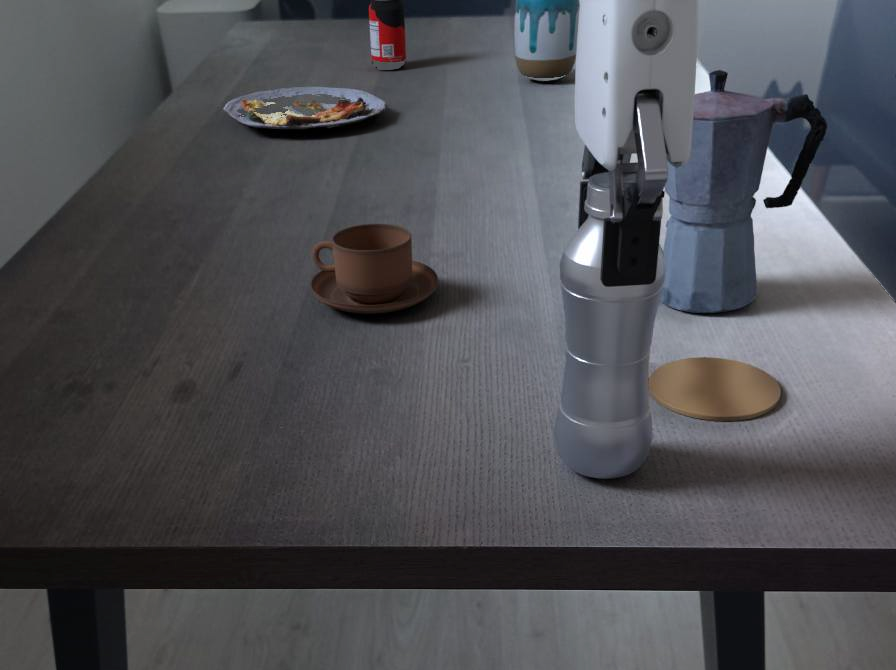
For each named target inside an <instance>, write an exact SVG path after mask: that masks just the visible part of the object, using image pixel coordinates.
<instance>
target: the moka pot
mask: <svg viewBox="0 0 896 670" xmlns="http://www.w3.org/2000/svg"><path fill="white" fill-rule="evenodd" d="M728 73H729V72H727V71H725V70H721V69H717V70H714V71H711V72H709V73H708V79H709V86H710V90H707V91H703V92H699V93H695V97H694V113H693V129H692V143H691V154H690V158H689V160H688V161H687V163H686V164H685V165H684V166H682V167H677V168H676V167H674V166H672V165H671V164H670V163H669V162H668V161H667V163H668V180H667V182H666V184H665V186H664V191H665V194H667V196H668V197H669V200H668V213H669V215H670V217H669V218H668V220H667V221H666V222H665V223H666V224H665V227H666V232H665V238H664V244H663V248H662V250H663V253H664V258H665V262H666V267H667V268H666V274H665V281H664V284H663V289H662V293H661V297H660V301H659V302H661V303H662V304H664V305H666V306H667V307H669V308H671V309H674V310H678V311H682V312H687V313H694V314H701V313H705V314H706V313H709V314H710V313H712V314H713V313H716V314H717V313H725V312H726V313H727V312H730V311H734V310H739V309H741V308H744V307H745V306H747V305H749V304H751V303H752V302H753V301H754V300H755V298H756V297H757V296H758V294H757V292H758V284H757V271H756V255H755V233H754V224H753V223H754V219H753V217H752V214H753V210H754V208H755V207H756V203H757V199H756V198H755V194H756V193H757V192H758V191H759V190H760V187H761V185H760V184H761V181H762V175H763V171H764V165H765V161H766V156H767V151H768V147H769V143H770V138H771V133H772V131H773V125H774V124H775V123H789V122H792V121H794V120H796V119H804V120H806V121H807V122H808V123H809V126H810V130H809V131H808V132H807V134H806V136H805V140H804V143H803V145H802V148H801V150H800V152H799V154H798V158H797V159H796V161H795V163H794V167H793V170H792V173H791V175H790V179H789V180H788V183H787V185H786V186H785V189H784V190H783V192H782V194H780V195H779V196H776V197H773V196H766V197H765V198H763V199H762V201H763V204H764V207H765V208H766V209H775V208H777V209H778V208H784V207H785V208H786V207H790V206H793V202H794V201H795V200H796V199H795V198H796V196H797V195H798V193H799V191H800V189H801V187H802V184H803V180H804V179H805V178H806V175H807V173H808V171H809V169H810V165H811V164H812V162H813V160H814V159H815V157H816V153H817V151H818V150H819V147H820V145H821V144H822V142H823V141H824V139H825V136H826V134H827V129H828V123H827V120H826V119H825V118H824V117H823V116H822V113H821V111H820V109H819V108H817V107H816V106H815V105H814V101H813V100H811V99H810V97H809V95H808V94H807V93H805V94H801V95H796V96H792V97H789V98H787V97H770V98H763V97H761V96H759V95H754V94H750V93H742V92H735V91H730V90H725V88H726V83H727V79H728V75H729V74H728Z"/></svg>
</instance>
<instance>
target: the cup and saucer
mask: <svg viewBox="0 0 896 670" xmlns="http://www.w3.org/2000/svg"><path fill="white" fill-rule="evenodd" d="M323 249H327V250H331V251H332V253H333V261H334V263H333V264H332V265H330V264H329V265H327V264H325V263H323V262H322V261H321V260H322V259H321V258H320V252H321V251H322V250H323ZM311 253H312V254H311V257H312V260H313V263H314V265H315V266H316V267H317V268H318V269H319V270H320V271H319V272H317V273H316V274H315V275H314V277H313V278H312V279H311V282H310V288H311V291H312V293H313V296H315V298H316V299H318V300H319V301H320V302H322V303H323V304H325V305H326V306H328V307H330V308H332V309H336V310H338V311H342V312H347V313H351V314H353V313H354V314H366V315H367V314H368V315H369V314H374V315H375V314H385V313H391V312H397V311H402V310H405V309H408V308H410V307H413V306H415V305H417V304H419V303H421V302H424V301H425V300H426V299H427V298H428V297H429V296H431V294H433V292H434V291H435V290H436V288H437V287H438V281H439V277H438V274H437V272H436V271H435V269H433V268H432V267H430V266H429V265H427V264H424V263H422V262H419V261H416V260H413V243H412V233H411V232H410V231H409V229H407V228H406V227H403V226H400V225H396V224H390V223H365V224H364V223H363V224H357V225H353V226H349V227H346V228H343V229H341V230H339V231H337V232H335V233H334V235H333V236H332V238H331V241H330V240H329V241H328V240H327V241H325V240H324V241H323V240H322V241H319V242H318V243H316V244H315V245H314V247H313V248H312V252H311Z"/></svg>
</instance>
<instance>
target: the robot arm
mask: <svg viewBox="0 0 896 670" xmlns="http://www.w3.org/2000/svg"><path fill="white" fill-rule="evenodd" d="M698 22H699V1H698V0H579V23H578V37H577V53H576V59H575V78H574V123H575V128H576V132H577V135H578V136H579V138H580V139H581V141H582V142H583V144H584V147H583V155H582V162H581V178H582V180H583V181H582V180H581V181H579V199H578V200H579V201H578V220H577V221H578V222H577V230H578V229H579V228H580V227H581V226H582V225H583V223H584V222H585V221H586V220H587V219H588V216H589V214H588V213H586V212H585V210H584V206H585V200H586V199H587V188H588V182H589V178H590V177H591V176H593V175H596V174H599V173H605V172H609V196H610V218H604V226H603V242H602V258H601V274H600V280H601V282H602V284H603V285H604V286H606V287H616V286H633V285H649V284H652V283H653V282H654V281H655V280H656V272H657V261H658V250H659V244H660V239H661V228H662V219H663V214H664V213H663V212H664V207H663V206H664V203H663V201H664V200H663V199H664V198H665V194H666V192H665V184H666V182H667V180H668V163H667V161H668V162H669V163H670V164H671V165H672V166H674V167H676V168H677V167H682V166H684V165H685V164H686V163H687V161H688V160H689V158H690V154H691V143H692V129H693V113H694V97H695V94H696V79H697V77H696V76H697V60H698V35H699V34H698V33H699V32H698V31H699V30H698V29H699V28H698V27H699V23H698ZM632 154H634V155H636V158H637V162H635V161H634V162H631V159H632ZM625 176H636V182H631V183H629V185H628V187H627V188H626V192H625V194H624V196H623V177H625Z"/></svg>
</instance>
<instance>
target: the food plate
mask: <svg viewBox="0 0 896 670" xmlns="http://www.w3.org/2000/svg"><path fill="white" fill-rule="evenodd" d="M303 94H312V95H317V94H327V95H332V97H340V98H342V97H345V98H346V99H350V100H351V102H356V103H354V104H351V102H349V101H348V100H344V99H340V100H339V101H338V102H337V104H325V103H316V101H315V100H314V101H313V100H312V101H310V102H309V103H308V106H305V105H304V104H303V103H300V102H298V101H294V102H293V104H294V105H296V106H300V107H305V108H304V109H306V108H311V109H312V110H320V111H321V110H324V112H318V113H316V112H315V111H314V112H313V113H315V115H307V114H304V113H301V112H299V111H297V110H295V109H293V108H292V106H290V107H288V106H286V107H283V108H285V109H288V111H286V112H285V113H282V112H276V113H271V114H260V113H257V112H254V111H256V110H255V109H253V108H262V107H263V106H267V105H270V104H276V103H275V102H266V103H264V102H263V100H262V99H268V100H270V99H274V98H279V97H282V96H285V97H292V96H298V95H303ZM317 96H320V95H317ZM269 98H270V99H269ZM387 107H388V106H387V103H386V101H385V100H383V99H381V98H379V97H377V96H375V95H373V94H372V93H369V92H367V91H364V90H362V89H355V88H347V87H346V88H345V87H328V86H327V87H326V86H297V87H296V86H291V87H280V88H273V89H270V90H265V89H264V90H263V91H256V92H253V93H249V94H245V95H242V96H238V97H236V98H234V99H231V100H230V101H228V102H227V103H225V105H224V107H223V108H222V110H224V112H225V113H227V114H228V115H229V116H230V117H232V118H233V119H234V120H237V122H239V123H241V124H243V125H246V126H247V127H252V128H258V129H259V128H260V129H273V130H275V129H276V130H308V129H311V128H316V129H319V128H321V127H331V128H336V127H337V128H339V127H342V126H347V125H349V124H353V123H359V122H361V121H364V120H366V119H369V118H371V117H377V116H379V115H381V114H383V113H385V111H386V108H387ZM366 108H369V110H367V109H366ZM240 110H245V111H248V113H247V116H246V117H241V116H240V117H238V115H241V113H239V112H238V111H240ZM290 110H291V111H290ZM295 112H296V113H295ZM297 113H298V114H297ZM283 114H287V115H286V116H285V115H283ZM281 115H282V116H281ZM242 116H244V115H242ZM267 117H268V118H267ZM261 118H262V119H263V120H262V119H261ZM264 123H267V124H265V125H264ZM337 125H338V126H337ZM333 126H334V127H333ZM331 128H330V129H331Z"/></svg>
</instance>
